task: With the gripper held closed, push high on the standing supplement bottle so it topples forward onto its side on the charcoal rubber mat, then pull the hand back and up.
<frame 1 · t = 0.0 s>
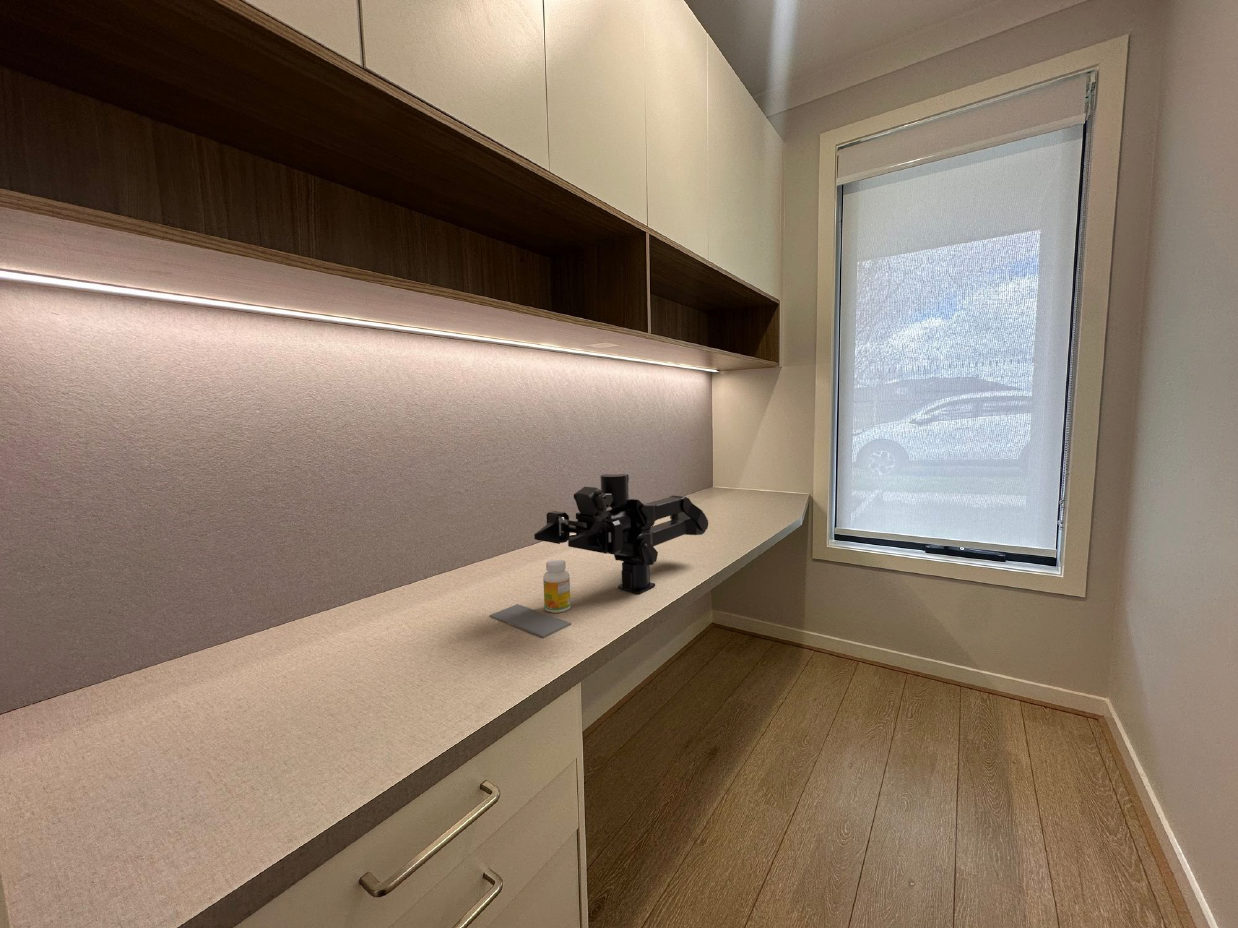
hand: (551, 540, 90), 17 cm above the worktop, tool horizontal, fingers open, 9 cm apart
supplement bottle: (557, 609, 100), on the worktop
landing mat: (529, 620, 94), on the worktop
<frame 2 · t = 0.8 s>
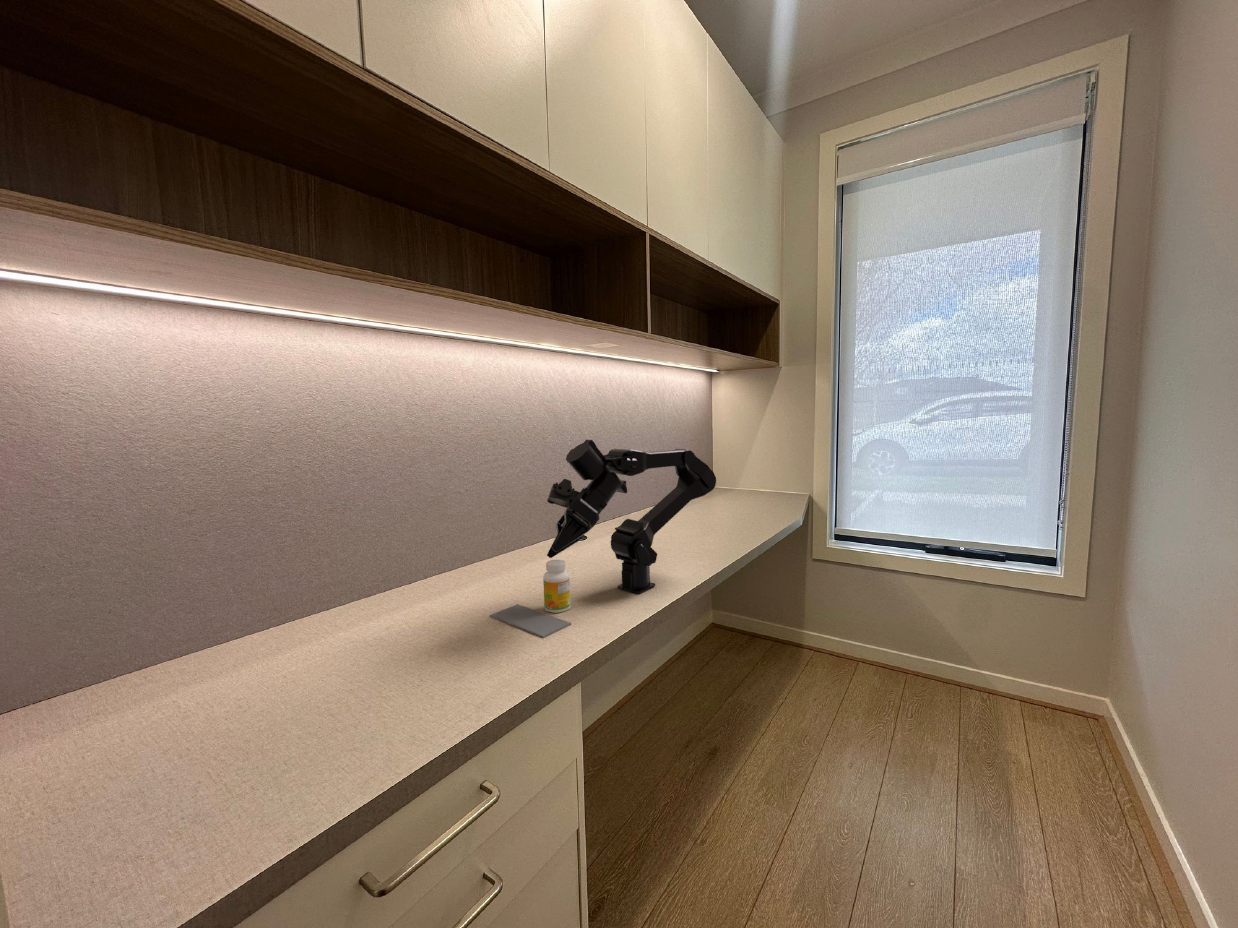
hand: (551, 553, 96), 12 cm above the worktop, tool tilted 50°, fingers open, 9 cm apart
nothing on the worktop moved.
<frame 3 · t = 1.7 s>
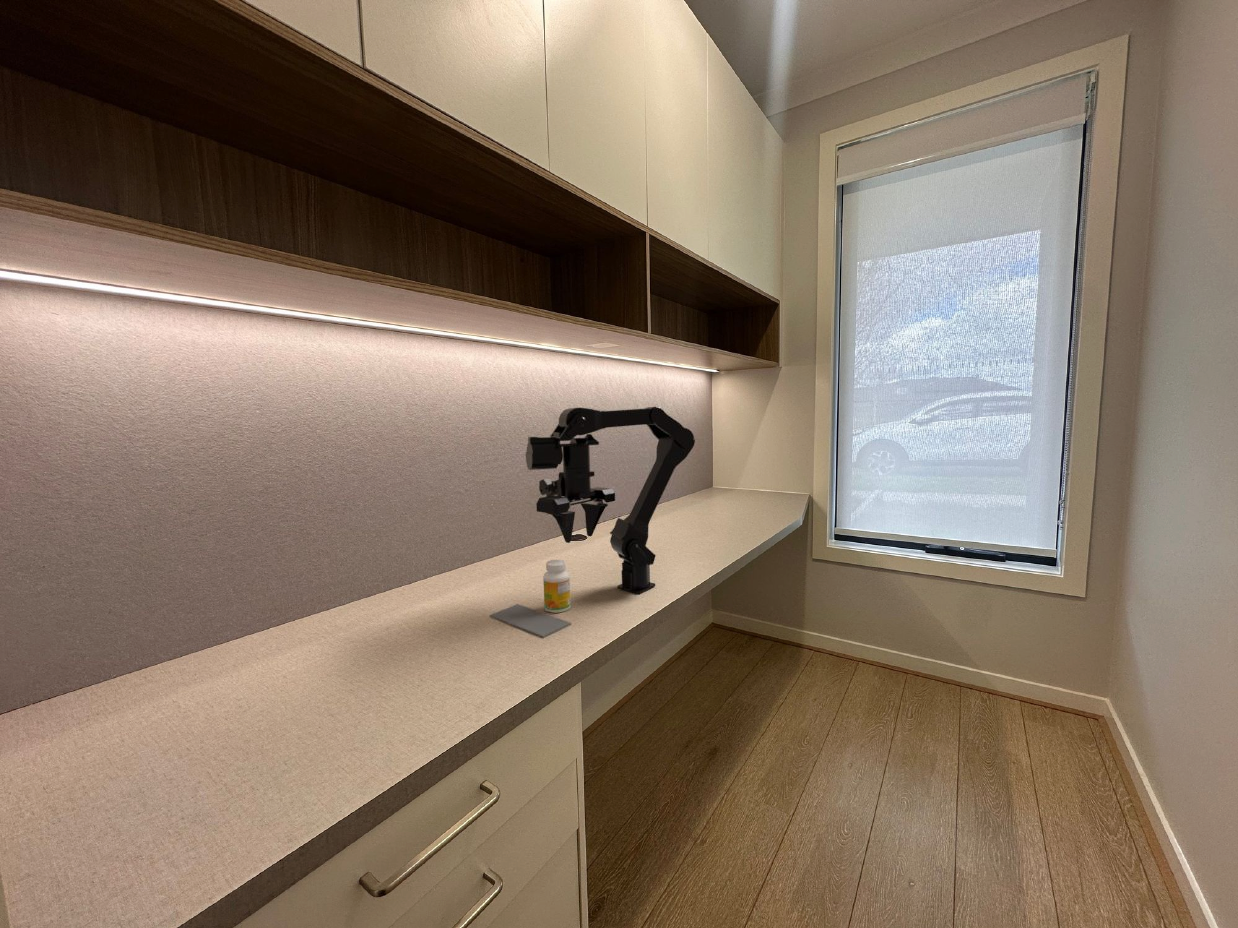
hand: (579, 539, 104), 13 cm above the worktop, tool pointing down, fingers open, 6 cm apart
nothing on the worktop moved.
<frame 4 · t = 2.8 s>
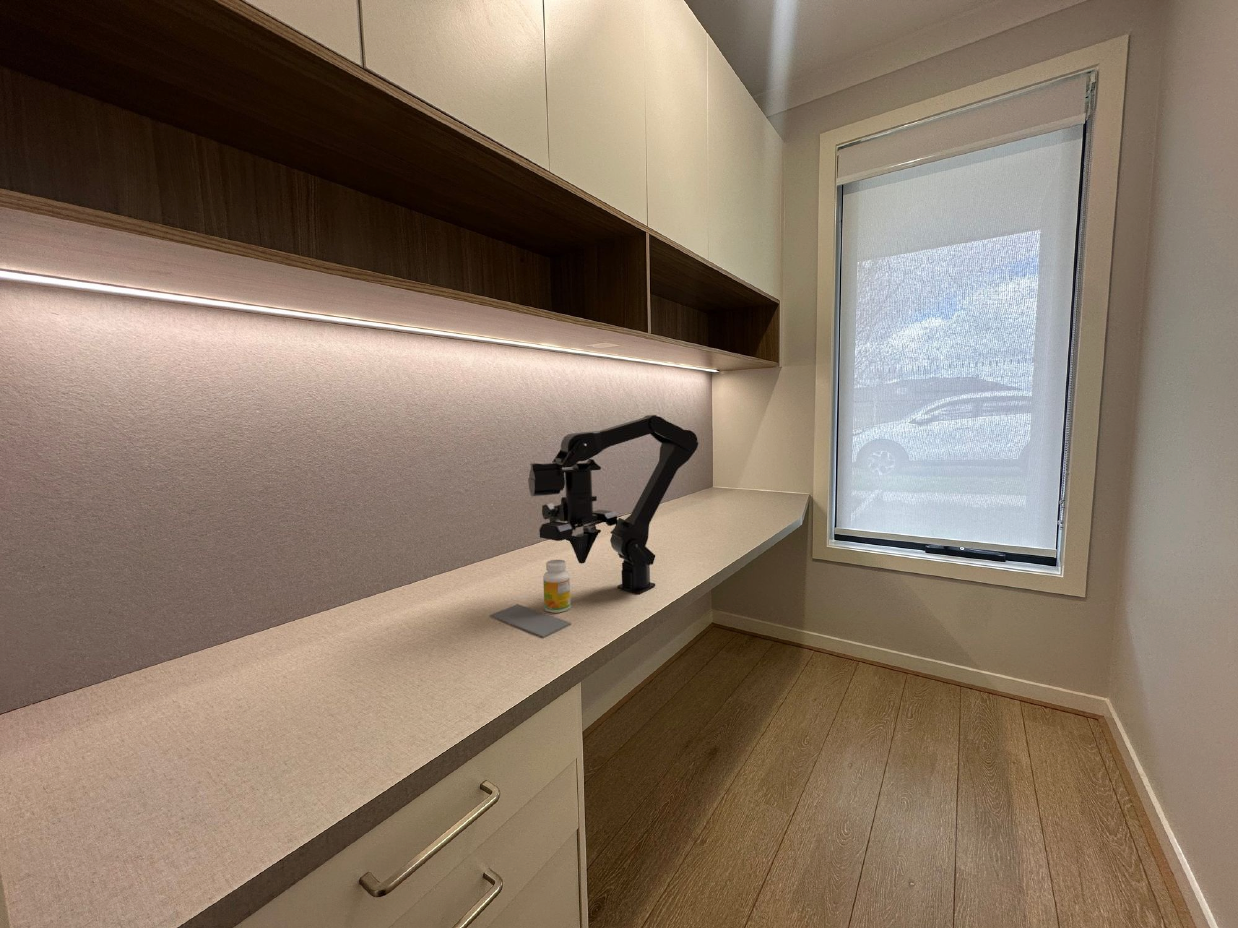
hand: (581, 563, 105), 8 cm above the worktop, tool pointing down, fingers closed
nothing on the worktop moved.
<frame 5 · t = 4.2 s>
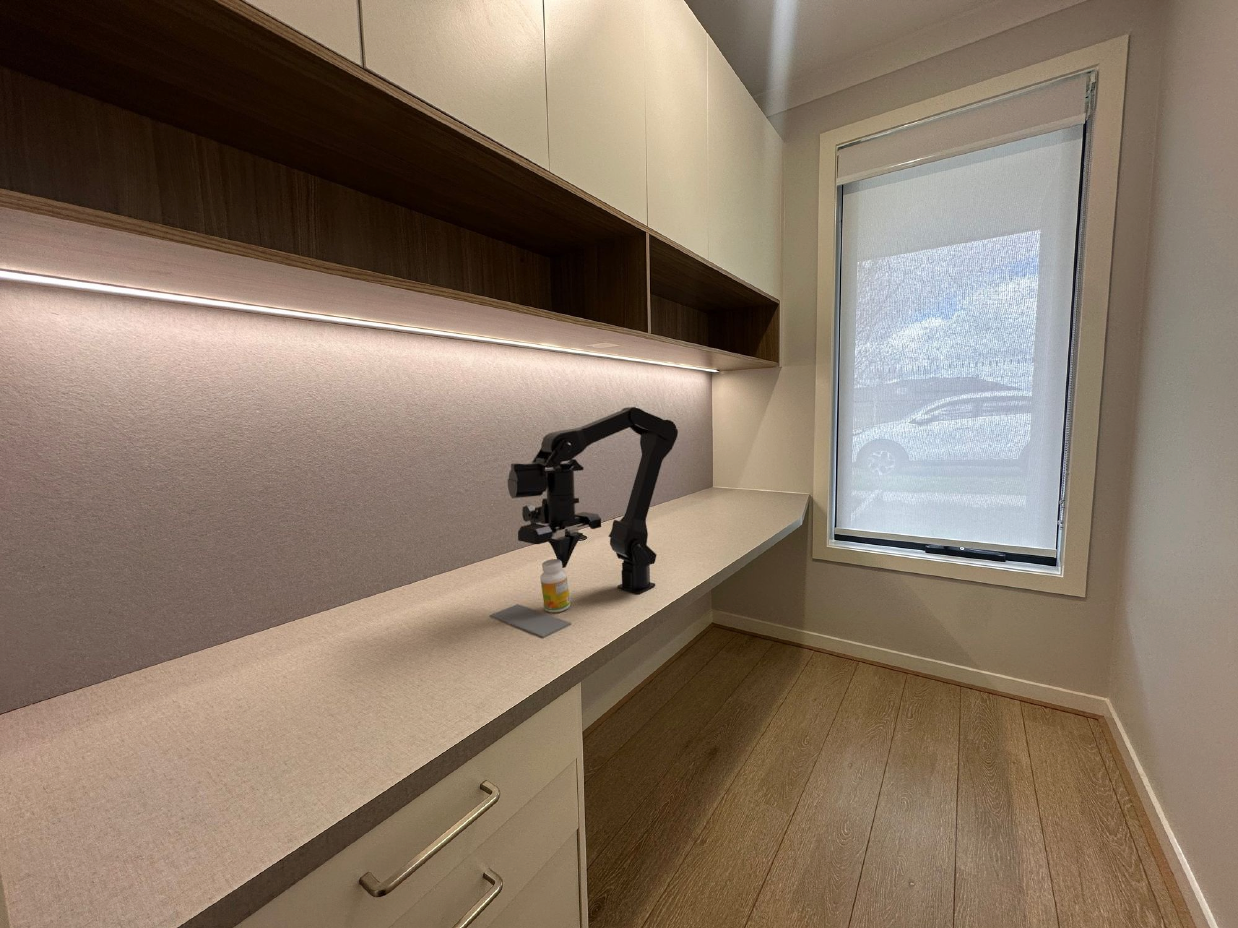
hand: (562, 567, 101), 8 cm above the worktop, tool pointing down, fingers closed
supplement bottle: (557, 607, 100), on the worktop, touching gripper
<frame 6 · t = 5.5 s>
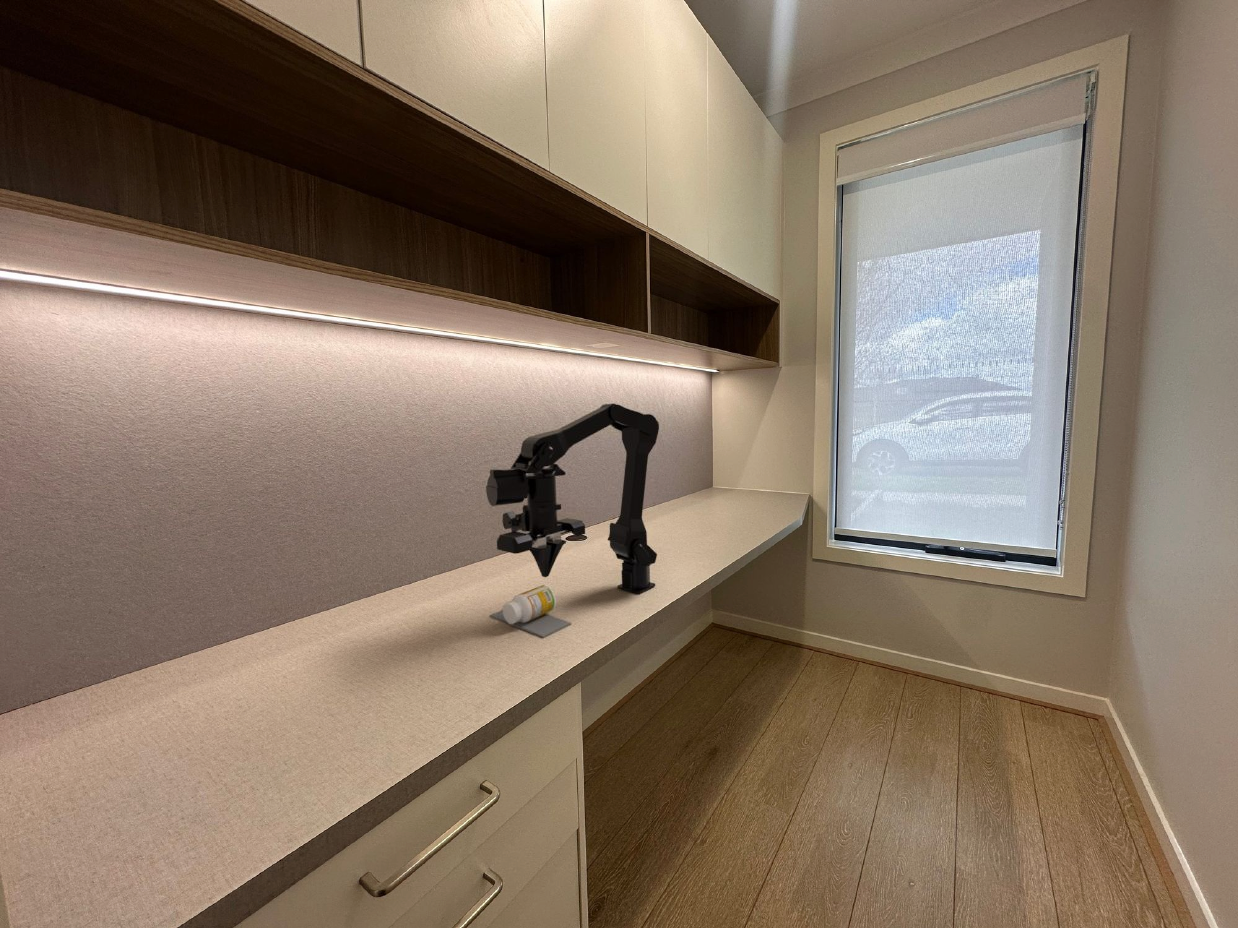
hand: (545, 576, 97), 8 cm above the worktop, tool pointing down, fingers closed
supplement bottle: (548, 597, 98), point 3 cm above the worktop, touching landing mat
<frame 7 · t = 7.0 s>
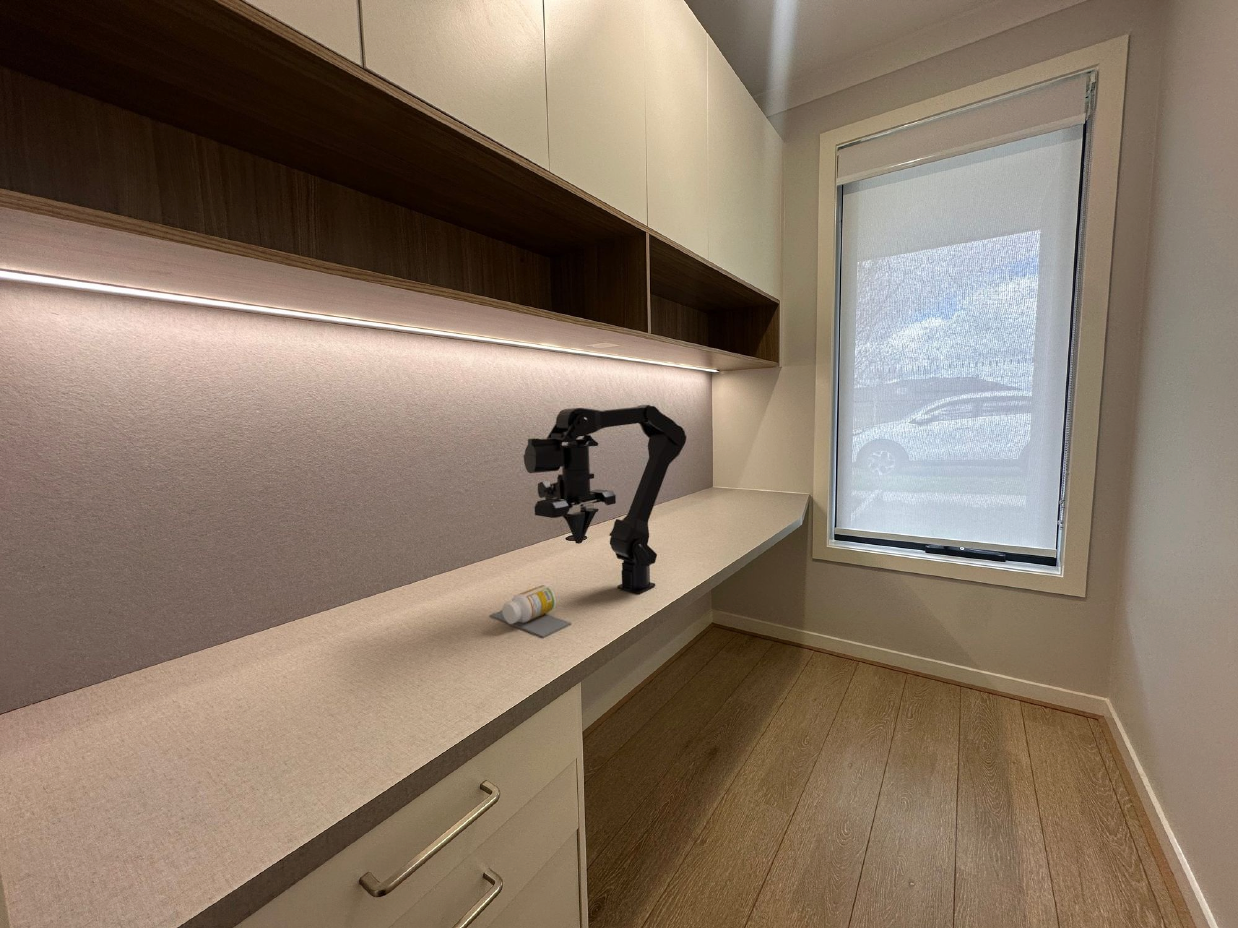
hand: (578, 543, 101), 13 cm above the worktop, tool pointing down, fingers closed
nothing on the worktop moved.
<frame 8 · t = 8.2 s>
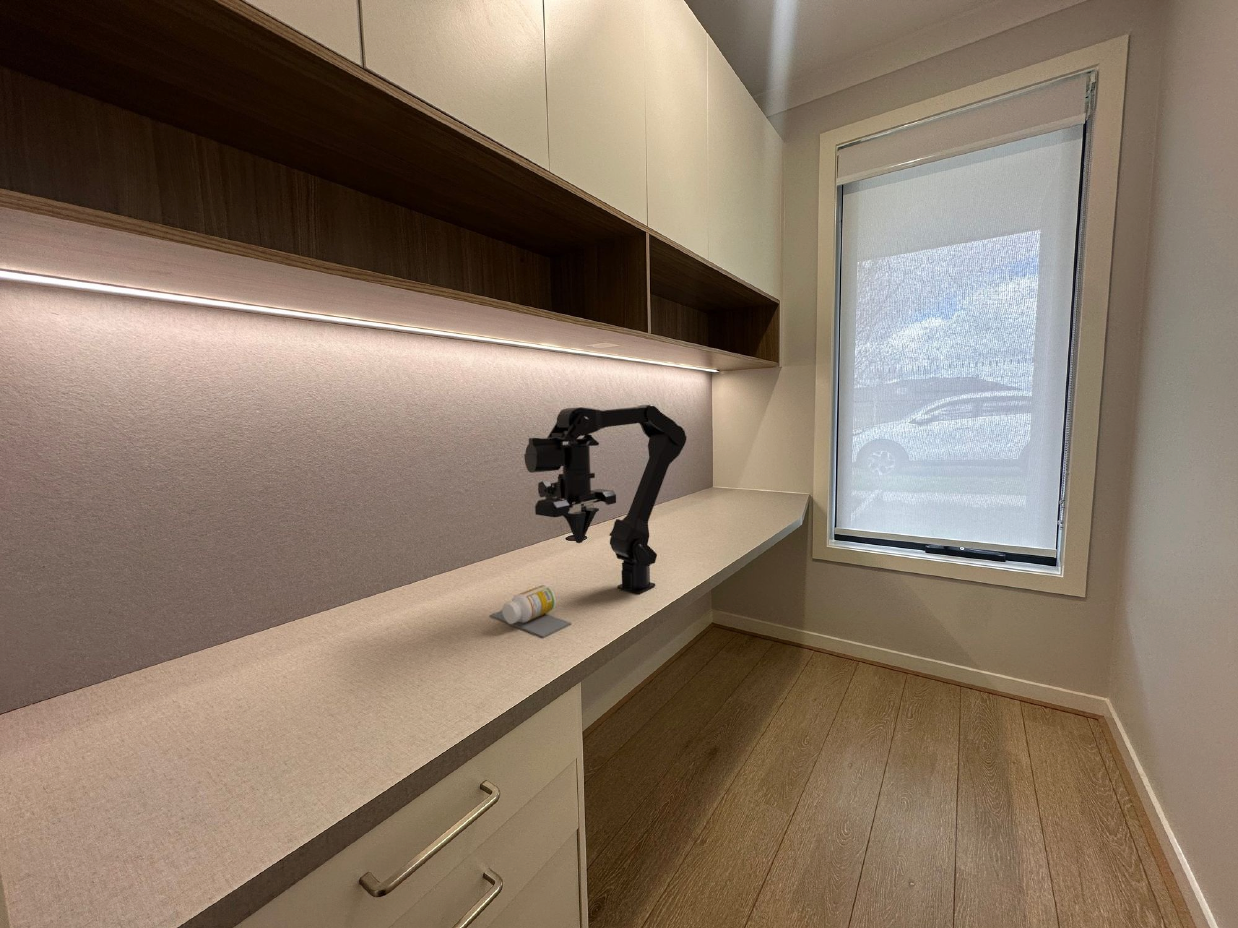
hand: (579, 542, 101), 13 cm above the worktop, tool pointing down, fingers closed
nothing on the worktop moved.
at the end: supplement bottle tilted 90°; supplement bottle inside the target area (3.6 cm from its centre), point 3.0 cm above the worktop; the gripper is holding nothing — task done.
